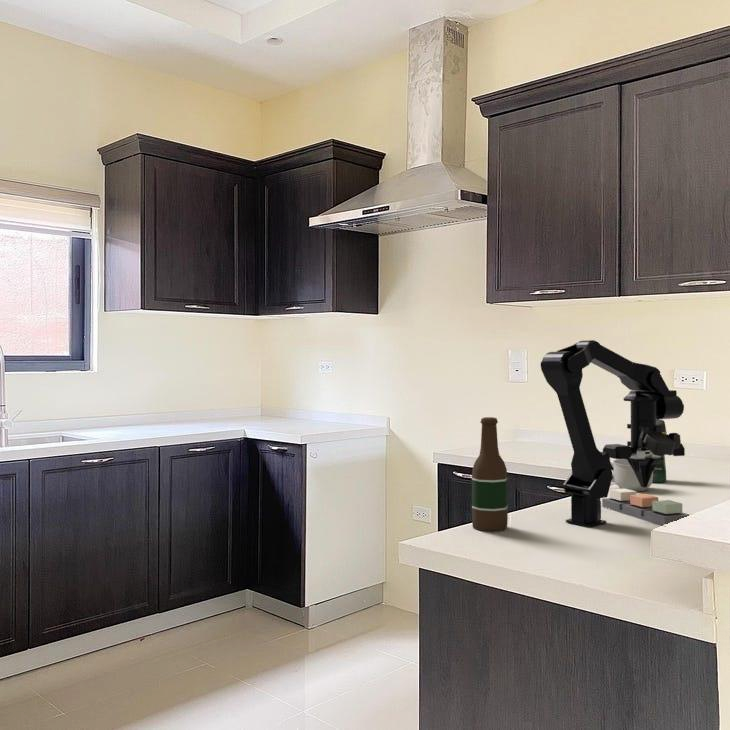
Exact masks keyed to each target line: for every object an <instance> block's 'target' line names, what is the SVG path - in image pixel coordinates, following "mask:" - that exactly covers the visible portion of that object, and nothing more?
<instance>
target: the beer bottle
mask: <svg viewBox="0 0 730 730" xmlns="http://www.w3.org/2000/svg"><path fill="white" fill-rule="evenodd" d="M479 423H480V424H481V432H480V433H481V434H480V450H479V454H478V457H477V458H476V459H475V462H474V463H473V467H472V471H471V522H472V528H473V529H474V530H477V531H480V532H491V533H492V532H493V533H495V532H503V531H505V530H506V529H507V527H508V517H509V516H508V514H509V513H508V511H509V508H508V506H509V503H508V502H509V501H508V497H509V495H508V471H507V470H508V468H507V467H506V462H505V461H504V460H503V458H502V456H501V455H500V451H499V444H498V443H499V442H498V430H497V427H498V426H497V424H498V423H499V421H498V418H497V417H492V416H491V417H490V416H489V417H487V416H486V417H482V418H481V419H480V422H479Z"/></svg>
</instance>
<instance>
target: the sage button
mask: <svg viewBox="0 0 730 730" xmlns="http://www.w3.org/2000/svg"><path fill="white" fill-rule="evenodd" d="M652 510H654V511H657V512H661V513H664V514H670V513H683V503H681V502H679V501H674V500H670V499H666V500H665V499H664V500H663V499H662V500H658V501H652Z"/></svg>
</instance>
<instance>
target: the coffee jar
mask: <svg viewBox="0 0 730 730" xmlns="http://www.w3.org/2000/svg"><path fill="white" fill-rule="evenodd" d="M656 421H657V425H660V427H661V432H662V434H668V433H667V427H666V422H665V419H657V420H656ZM665 456H666V455H662V456H660V457H661V458H664V460H662V461H660V462H659V463H657V464H656V466H655V468H654V470H653V481H652V483H657V484H659V483H665V482H666V481H667V466H666V458H665Z"/></svg>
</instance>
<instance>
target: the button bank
mask: <svg viewBox="0 0 730 730" xmlns="http://www.w3.org/2000/svg"><path fill="white" fill-rule="evenodd" d="M602 506H604V507H603V508H605V507H607V508H606V509H608V508H610V509H609V510H611V509H613V510H612V511H614V510H615V512H617V511H618V513H620V514H624V515H627V516H630V517H633V518H637V519H640V520H643V521H646V522H649V523H653V524H655V525H659V526H662V525H664V524H668V523H670V522H673V521H677V520H679V519H681V518H684V517H687V516H689V515H690V514H689V513H685V512H682V513H670V514H664V513H661V512H657V511H654V510H652V506H650V507H640V506H637V505H633V504H630V500H626V501H620V500H616V499H613V498H610V497H606V498H601V507H602Z"/></svg>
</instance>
